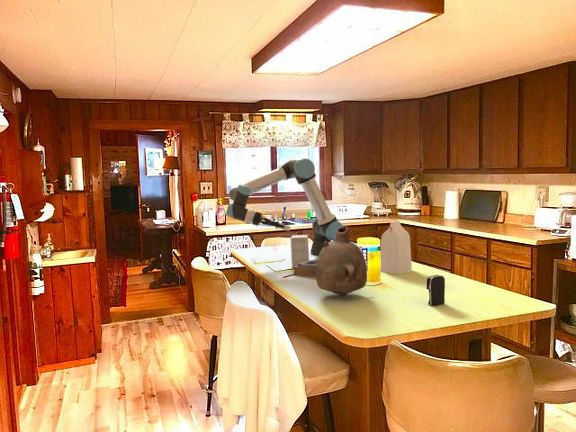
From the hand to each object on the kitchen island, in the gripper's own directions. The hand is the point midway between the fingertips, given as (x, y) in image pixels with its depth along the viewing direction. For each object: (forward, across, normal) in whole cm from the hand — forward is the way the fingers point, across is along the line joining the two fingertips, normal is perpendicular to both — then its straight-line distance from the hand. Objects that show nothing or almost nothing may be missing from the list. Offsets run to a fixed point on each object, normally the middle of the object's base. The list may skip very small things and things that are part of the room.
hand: (289, 228), depth 270 cm
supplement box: (+12, -1, -18) cm, 22 cm away
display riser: (+22, +20, -17) cm, 34 cm away
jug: (+28, +66, -22) cm, 75 cm away
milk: (+59, +21, -5) cm, 63 cm away
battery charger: (+61, +82, -12) cm, 103 cm away
